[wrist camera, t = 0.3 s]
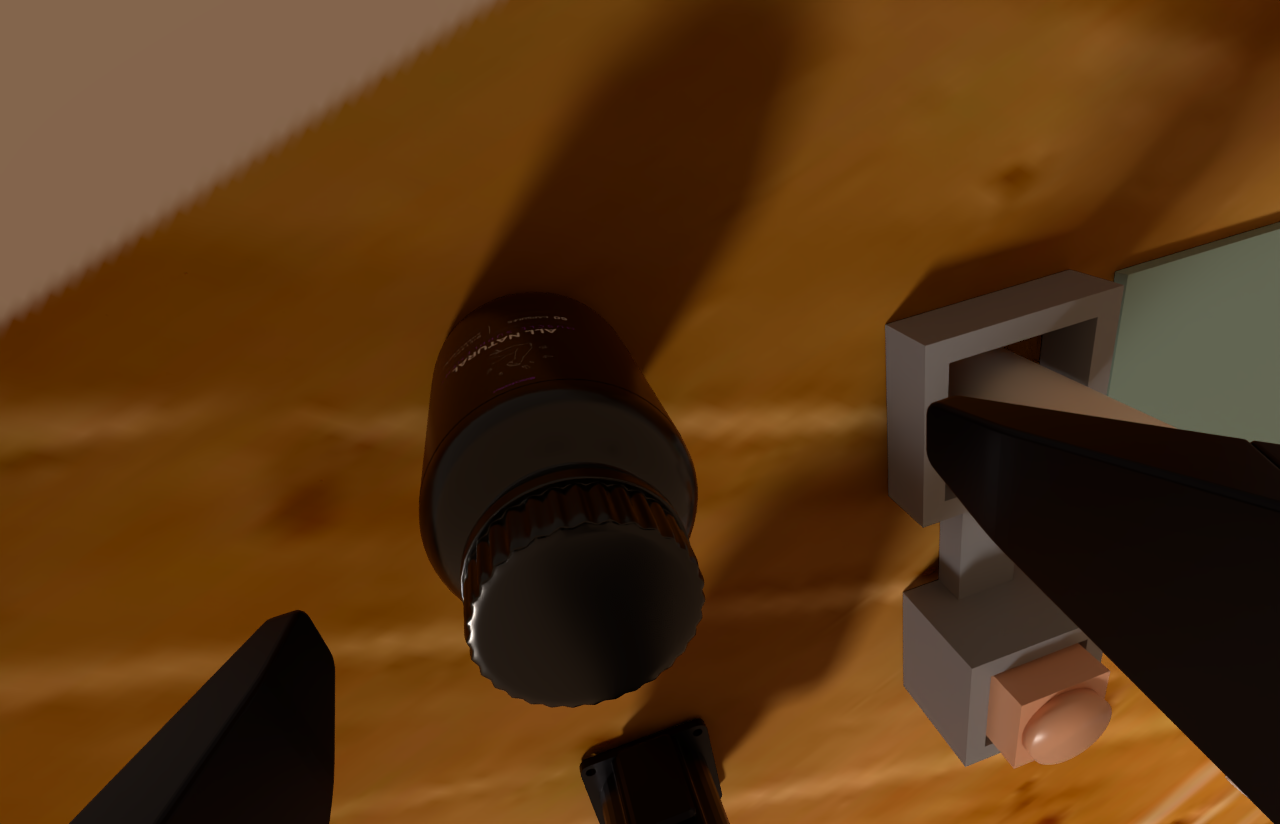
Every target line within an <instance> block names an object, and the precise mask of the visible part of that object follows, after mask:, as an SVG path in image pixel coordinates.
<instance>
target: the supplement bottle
mask: <svg viewBox="0 0 1280 824" xmlns="http://www.w3.org/2000/svg"><path fill="white" fill-rule="evenodd" d="M697 502H698V486H697V478H696V472H695V468H694V464H693V461H692V459H691V456H690V454H689V451H688V449H687V447H686V445H685V443H684V441H683V439H682V437H681V435H680V433H679V432H678V430H677V428H676V427H675V425H674V424H673V422H672V420H671V419H670V417H669V416H668V414H667V412H666V411H665V409H664V408H663V406H662V404H661V403H660V401H659V400H658V398H657V396H656V395H655V393H654V391H653V390H652V388H651V387H650V385H649V383H648V382H647V380H646V379H645V377H644V375H643V374H642V372H641V371H640V369H639V367H638V366H637V364H636V363H635V361H634V359H633V358H632V356H631V355H630V353H629V351H628V350H627V348H626V347H625V345H624V344H623V342H622V341H621V339H620V338H619V336H618V335H617V333H616V332H615V331H614V329H613V328H612V327H611V326H610V325H609V324H608V323H607V322H606V321H605V320H604V319H603V318H602V317H601V316H600V315H599V314H597V313H596V312H595V311H594V310H592V309H591V308H589V307H587V306H586V305H584V304H582V303H580V302H578V301H576V300H573V299H571V298H568V297H565V296H561V295H557V294H552V293H543V292H525V293H517V294H512V295H508V296H504V297H501V298H498V299H495V300H493V301H491V302H488V303H486V304H484V305H483V306H481V307H479V308H477V309H476V310H474V311H473V312H472V313H470V314H469V315H468V316H466V317H465V318H464V319H463V320H462V321H461V322H460V323H459V324H458V325H457V326H456V327H455V328H454V330H453V331H452V332H451V333H450V335H449V336H448V338H447V339H446V341H445V342H444V344H443V346H442V348H441V350H440V353H439V355H438V358H437V361H436V364H435V368H434V373H433V379H432V386H431V394H430V403H429V413H428V422H427V431H426V441H425V450H424V459H423V469H422V478H421V487H420V497H419V524H420V532H421V538H422V542H423V545H424V548H425V551H426V554H427V556H428V559H429V561H430V563H431V565H432V566H433V568H434V570H435V572H436V573H437V574H438V576H439V577H440V579H441V580H442V582H443V583H444V584H445V585H446V586H447V587H448V588H449V589H450V591H451V592H452V593H453V594H455V595H456V596H457V597H458V598H459V599H460V600H461V601H463V605H464V636H465V640H466V643H467V644H468V646H469V647H470V656H471V660H472V661H473V662H475V663H476V664H477V665H478V666H479V668H480V672H481V675H482V676H484V677H486V678H488V679H490V680H491V681H492V683H493V685H494V687H495V688H497V689H500V690H504V691H506V692H507V693H508V694H509V695H510V696H511V697H512V698H519V699H524V700H525V701H526V702H528V703H530V704H543V705H546V706H548V707H551V708H552V707H558V706H566V707H572V708H574V707H578V706H581V705H584V704H585V705H596V704H598V703H600V702H602V701H604V700H612V699H617V698H619V697H620V696H622V695H623V694H625V693H628V692H632V691H636V690H638V689H639V688H640V687H641V686H642V685H643V684H645V683H648V682H650V681H653V680H655V679H656V678H657V677H658V676H659V674H660V673H661V672H662V671H664V670H666V669H668V668H670V667H671V666H672V665H673V663H674V661H675V659H676V658H677V657H678V656H679V655H681V654H682V653H684V652H685V650H686V647H687V644H688V642H689V641H690V640H691V639H692V638H693V637H694V636H695V634H696V626H697V625H698V623H699V622H700V621H701V619H702V611H701V609H702V606H703V605H704V602H705V595H704V592H703V590H702V589H703V587H704V579H703V576H702V573H701V571H700V569H699V566H698V561H697V558H696V556H695V554H694V552H693V550H692V548H691V546H690V542H689V538H690V536H691V532H692V529H693V526H694V522H695V517H696V512H697Z"/></svg>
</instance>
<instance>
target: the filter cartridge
mask: <svg viewBox="0 0 1280 824" xmlns="http://www.w3.org/2000/svg"><path fill="white" fill-rule="evenodd" d="M956 395H959V396H966V397H972V398H979V399H985V400H992V401H999V402H1005V403H1012V404H1018V405H1025V406H1031V407H1038V408H1044V409H1051V410H1058V411H1064V412H1071V413H1077V414H1084V415H1090V416H1097V417H1103V418H1110V419H1116V420H1123V421H1130V422H1136V423H1143V424H1149V425H1156V426H1162V427H1169V428H1175V427H1173V426H1171V425H1169V424H1167V423H1164V422H1162V421H1160V420H1158V419H1156V418H1154V417H1152V416H1149V415H1147V414H1145V413H1143V412H1141V411H1139V410H1136V409H1134V408H1132V407H1130V406H1128V405H1126V404H1123V403H1121V402H1119V401H1117V400H1115V399H1113V398H1110V397H1108V396H1106V395H1104V394H1102V393H1100V392H1097V391H1095V390H1093V389H1091V388H1089V387H1087V386H1085V385H1082V384H1080V383H1078V382H1076V381H1074V380H1072V379H1069V378H1067V377H1065V376H1063V375H1061V374H1059V373H1056V372H1054V371H1052V370H1050V369H1048V368H1046V367H1043V366H1041V365H1039V364H1037V363H1035V362H1033V361H1030V360H1028V359H1026V358H1024V357H1022V356H1020V355H1018V354H1015V353H1013V352H1011V351H1009V350H1007V349H1005V348H1002V347H1000V348H996V349H993V350H990V351H987V352H983V353H980V354H977V355H974V356H971V357H967V358H964V359H961V360H958V361H955V362H951V363H950V364H949V384H948V397H950V396H956ZM1175 429H1177V428H1175Z"/></svg>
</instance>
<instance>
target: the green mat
mask: <svg viewBox="0 0 1280 824" xmlns="http://www.w3.org/2000/svg"><path fill="white" fill-rule="evenodd" d="M1114 282H1115V283H1119V284H1122V285H1124V290H1123V296H1122V302H1121V309H1120V315H1119V321H1118V327H1117V333H1116V339H1115V346H1114V352H1113V358H1112V364H1111V370H1110V376H1109V383H1108V389H1107V395H1106V396H1108V397H1110V398H1113V399H1115V400H1117V401H1119V402H1121V403H1123V404H1126V405H1128V406H1130V407H1132V408H1134V409H1136V410H1139V411H1141V412H1143V413H1145V414H1147V415H1149V416H1152V417H1154V418H1156V419H1158V420H1160V421H1162V422H1164V423H1167V424H1169V425H1171V426H1173V427H1175V428H1177V429H1182V430H1189V431H1195V432H1202V433H1208V434H1215V435H1221V436H1228V437H1234V438H1241V439H1246V440H1248V441H1249V442H1252V441H1262V442H1268V443H1275V444H1280V222H1278V223H1274V224H1271V225H1268V226H1264V227H1261V228H1258V229H1255V230H1251V231H1248V232H1245V233H1241V234H1238V235H1235V236H1231V237H1228V238H1225V239H1221V240H1218V241H1215V242H1211V243H1208V244H1205V245H1201V246H1198V247H1195V248H1192V249H1188V250H1185V251H1182V252H1178V253H1175V254H1172V255H1168V256H1165V257H1162V258H1158V259H1155V260H1152V261H1148V262H1145V263H1142V264H1139V265H1135V266H1132V267H1129V268H1125V269H1122V270H1119V271H1115V277H1114Z"/></svg>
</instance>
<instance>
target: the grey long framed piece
mask: <svg viewBox="0 0 1280 824" xmlns="http://www.w3.org/2000/svg"><path fill="white" fill-rule="evenodd" d="M1123 290H1124V285H1122V284H1119V283H1115V282H1112V281H1108V280H1105V279H1101V278H1098V277H1094V276H1091V275H1087V274H1084V273H1080V272H1077V271H1073V270H1067V271H1063V272H1060V273H1057V274H1053V275H1050V276H1047V277H1043V278H1040V279H1037V280H1033V281H1030V282H1026V283H1023V284H1020V285H1016V286H1013V287H1010V288H1006V289H1003V290H1000V291H996V292H993V293H990V294H986V295H983V296H980V297H976V298H973V299H969V300H966V301H963V302H959V303H956V304H953V305H949V306H946V307H943V308H939V309H936V310H933V311H929V312H926V313H923V314H919V315H916V316H912V317H909V318H906V319H902V320H899V321H896V322H892V323H889V324H886V325H885V331H886V385H887V439H888V493H889V497H890V498H891V499H893V500H894V501H895V502H896V503H897V504H898V505H899V506H900V507H901V508H902V509H903V510H904V511H906V512H907V513H908V514H909V515H910V516H911V517H912V518H913V519H914V520H915V521H916V522H917V523H919V524H920V525H921V526H922V527H926V526H929V525H932V524H935V523H938V522H940V549H939V580H936V581H934V582H931V583H928V584H925V585H923V586H920V587H917V588H914V589H911V590H909V591H906V592H903V674H904V687H905V688H906V689H907V691H908V692H909V693H910V695H911V696H912V697H913V699H914V700H915V701H916V703H917V704H918V705H919V707H920V708H921V709H922V710H923V712H924V713H925V714H926V716H927V717H928V718H929V720H930V721H931V722H932V724H933V725H934V726H935V728H936V729H937V730H938V731H939V733H940V734H941V735H942V737H943V738H944V739H945V741H946V742H947V743H948V745H949V746H950V747H951V749H952V750H953V751H954V752H955V754H956V755H957V756H958V758H959V759H960V760H961V762H962V763H963V764H964V766H965V767H966V766H969V765H971V764H974V763H976V762H979V761H981V760H983V759H986V758H988V757H991V756H993V755H996V754H998V753H1001V752H1000V751H999V750H998V749H997V748H996V746H995V745H994V744H993V743H992V742H991V740H990V739H989V738H988V737H987V736H986V727H987V715H988V704H989V692H990V681H991V676H994V675H996V674H999V673H1001V672H1004V671H1006V670H1009V669H1012V668H1014V667H1017V666H1019V665H1022V664H1025V663H1027V662H1030V661H1032V660H1035V659H1038V658H1040V657H1043V656H1045V655H1048V654H1051V653H1053V652H1056V651H1058V650H1061V649H1063V648H1066V647H1069V646H1071V645H1074V644H1076V643H1079V644H1080V645H1081V646H1082V647H1083V648H1084V649H1086V650H1087V651H1088V652H1089V653H1090V654H1091V655H1092V656H1094V657H1095V658H1096V659H1097V660H1098V661H1099V662H1100V663H1101V658H1102V653H1103V652H1102V651H1101V650H1100V649H1099V648H1098V647H1097V646H1096V645H1095V644H1094V643H1093V642H1092V641H1091V640H1090V639H1089V638H1088V637H1087V636H1086V635H1085V634H1084V633H1083V632H1082V631H1081V630H1080V629H1079V628H1078V627H1077V626H1076V625H1075V624H1074V623H1073V622H1072V621H1071V620H1070V619H1069V618H1068V617H1067V616H1066V615H1065V614H1064V613H1063V612H1062V611H1061V610H1060V609H1059V608H1058V607H1057V606H1056V605H1055V604H1054V603H1053V602H1052V601H1051V600H1050V599H1049V598H1048V597H1047V596H1046V595H1045V594H1044V593H1043V592H1042V591H1041V590H1040V589H1039V588H1038V587H1037V586H1036V585H1035V584H1034V583H1033V582H1032V581H1031V580H1030V579H1029V578H1028V577H1027V576H1026V575H1025V574H1024V573H1023V572H1022V571H1021V570H1020V569H1019V568H1018V567H1017V566H1016V565H1015V564H1014V563H1013V562H1012V561H1011V560H1010V559H1009V558H1008V557H1007V556H1006V555H1005V554H1004V552H1003V551H1002V550H1001V549H1000V548H999V547H998V546H997V545H996V544H995V543H994V542H993V541H992V540H991V538H990V537H989V536H988V535H987V534H986V533H985V531H984V530H983V529H982V528H981V527H980V525H979V524H978V523H977V522H976V520H975V519H974V518H973V517H972V515H971V514H970V513H969V512H968V511H967V509H966V508H965V507H964V506H963V504H962V503H961V502H960V501H959V499H958V498H957V497H956V496H955V494H954V493H953V492H952V491H951V490H950V488H949V487H948V486H947V485H946V483H945V482H944V481H943V480H942V478H941V477H940V476H939V475H938V473H937V472H936V471H935V470H934V469H933V467H932V466H931V464H930V462H929V460H928V457H927V452H926V412H927V408H928V406H929V405H930V404H931V403H933V402H935V401H938V400H941V399H944V398H947V397H948V384H949V363H951V362H955V361H958V360H961V359H964V358H967V357H971V356H974V355H977V354H980V353H983V352H987V351H990V350H993V349H996V348H1000V347H1003V346H1006V345H1009V344H1012V343H1016V342H1019V341H1022V340H1025V339H1028V338H1032V337H1035V336H1038V335H1041V334H1043V336H1042V346H1041V355H1040V365H1041V366H1043V367H1046V368H1048V369H1050V370H1052V371H1054V372H1056V373H1059V374H1061V375H1063V376H1065V377H1067V378H1069V379H1072V380H1074V381H1076V382H1078V383H1080V384H1082V385H1085V386H1087V387H1089V388H1091V389H1093V390H1095V391H1097V392H1100V393H1102V394H1104V395H1107V389H1108V383H1109V376H1110V370H1111V364H1112V358H1113V352H1114V346H1115V339H1116V333H1117V327H1118V321H1119V315H1120V309H1121V302H1122V296H1123Z"/></svg>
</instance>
